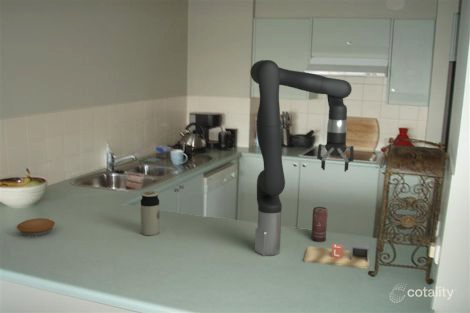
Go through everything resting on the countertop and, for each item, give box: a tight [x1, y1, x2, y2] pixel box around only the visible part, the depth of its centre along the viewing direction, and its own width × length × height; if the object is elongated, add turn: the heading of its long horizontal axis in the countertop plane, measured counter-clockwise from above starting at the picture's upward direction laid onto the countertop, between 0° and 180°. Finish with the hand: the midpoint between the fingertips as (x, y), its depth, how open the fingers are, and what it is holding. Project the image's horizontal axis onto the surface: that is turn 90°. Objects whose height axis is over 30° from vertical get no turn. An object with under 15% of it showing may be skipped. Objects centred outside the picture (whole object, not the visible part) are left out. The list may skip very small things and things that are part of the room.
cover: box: [350, 241, 370, 262], centre depth 185 cm, size 6×6×6 cm
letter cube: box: [331, 243, 344, 259], centre depth 187 cm, size 4×4×4 cm
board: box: [303, 245, 370, 270], centre depth 187 cm, size 24×14×1 cm, turn 76°
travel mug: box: [140, 190, 161, 236], centre depth 211 cm, size 8×8×18 cm
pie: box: [16, 217, 56, 238], centre depth 210 cm, size 16×16×5 cm
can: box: [311, 206, 329, 243], centre depth 206 cm, size 6×6×14 cm
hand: (334, 170), depth 194 cm, fingers open, 8 cm apart
